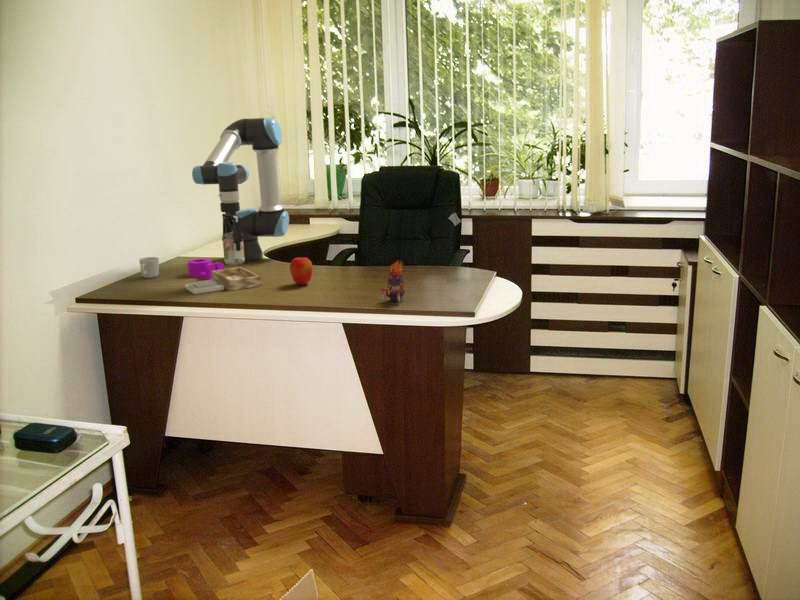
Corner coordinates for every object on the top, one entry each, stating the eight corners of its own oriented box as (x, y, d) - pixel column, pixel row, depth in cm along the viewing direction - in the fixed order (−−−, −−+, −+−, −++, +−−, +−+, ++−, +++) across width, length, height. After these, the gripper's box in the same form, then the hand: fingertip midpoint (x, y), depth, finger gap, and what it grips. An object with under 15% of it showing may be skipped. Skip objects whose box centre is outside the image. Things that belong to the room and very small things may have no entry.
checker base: (214, 284, 323) (213, 279, 323) (223, 289, 313) (223, 285, 313) (185, 288, 317) (184, 283, 317) (194, 294, 307) (193, 289, 307)
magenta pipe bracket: (184, 275, 341) (182, 261, 339) (202, 271, 348) (201, 257, 347) (208, 280, 331) (206, 265, 330) (226, 275, 339) (225, 261, 337)
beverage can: (221, 261, 324) (219, 233, 321) (242, 259, 327) (240, 231, 324) (226, 265, 316) (223, 236, 313) (247, 263, 319) (245, 234, 316)
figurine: (377, 303, 286) (376, 263, 283) (386, 297, 295) (385, 258, 291) (399, 305, 283) (398, 264, 280) (408, 299, 292) (407, 259, 288)
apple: (298, 288, 312) (296, 258, 309) (286, 284, 319) (284, 255, 316) (317, 284, 318) (316, 255, 315) (306, 280, 325) (304, 252, 322)
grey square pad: (210, 282, 320) (210, 279, 320) (217, 285, 313) (216, 283, 313) (191, 284, 316) (191, 282, 316) (197, 288, 309) (197, 286, 309)
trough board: (242, 275, 336) (242, 266, 335) (262, 285, 318) (261, 276, 317) (211, 280, 329) (210, 271, 328) (228, 290, 311) (228, 280, 310)
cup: (151, 280, 332) (149, 262, 330) (134, 280, 333) (132, 261, 331) (163, 275, 342) (162, 257, 340) (147, 274, 344) (145, 256, 342)
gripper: (211, 199, 322) (216, 253, 328) (230, 205, 304) (234, 262, 310) (229, 198, 326) (233, 251, 332) (248, 203, 308) (252, 259, 314)
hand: (234, 256), depth 321 cm, fingers closed on beverage can, 9 cm apart
